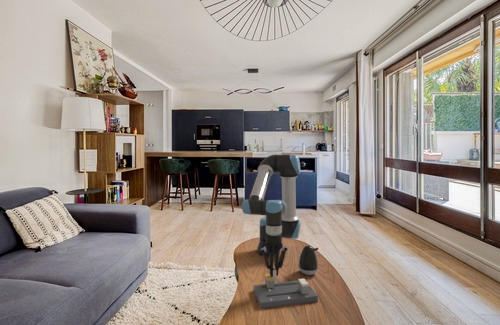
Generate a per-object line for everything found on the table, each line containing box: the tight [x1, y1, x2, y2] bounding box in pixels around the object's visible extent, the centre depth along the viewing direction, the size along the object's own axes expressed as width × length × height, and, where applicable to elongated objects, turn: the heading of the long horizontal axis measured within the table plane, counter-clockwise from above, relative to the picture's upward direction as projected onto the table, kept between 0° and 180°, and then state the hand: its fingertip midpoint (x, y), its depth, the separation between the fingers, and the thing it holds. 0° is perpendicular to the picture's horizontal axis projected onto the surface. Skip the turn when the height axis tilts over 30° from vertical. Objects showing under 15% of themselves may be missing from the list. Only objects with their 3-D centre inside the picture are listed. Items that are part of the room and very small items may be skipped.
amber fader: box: [264, 273, 274, 289], centre depth 126 cm, size 5×3×5 cm, turn 11°
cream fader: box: [297, 278, 310, 294], centre depth 120 cm, size 5×3×5 cm, turn 11°
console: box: [252, 280, 319, 309], centre depth 122 cm, size 15×26×3 cm, turn 101°
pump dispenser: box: [298, 244, 319, 276], centre depth 144 cm, size 10×10×15 cm
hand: (273, 282), depth 126 cm, fingers closed
